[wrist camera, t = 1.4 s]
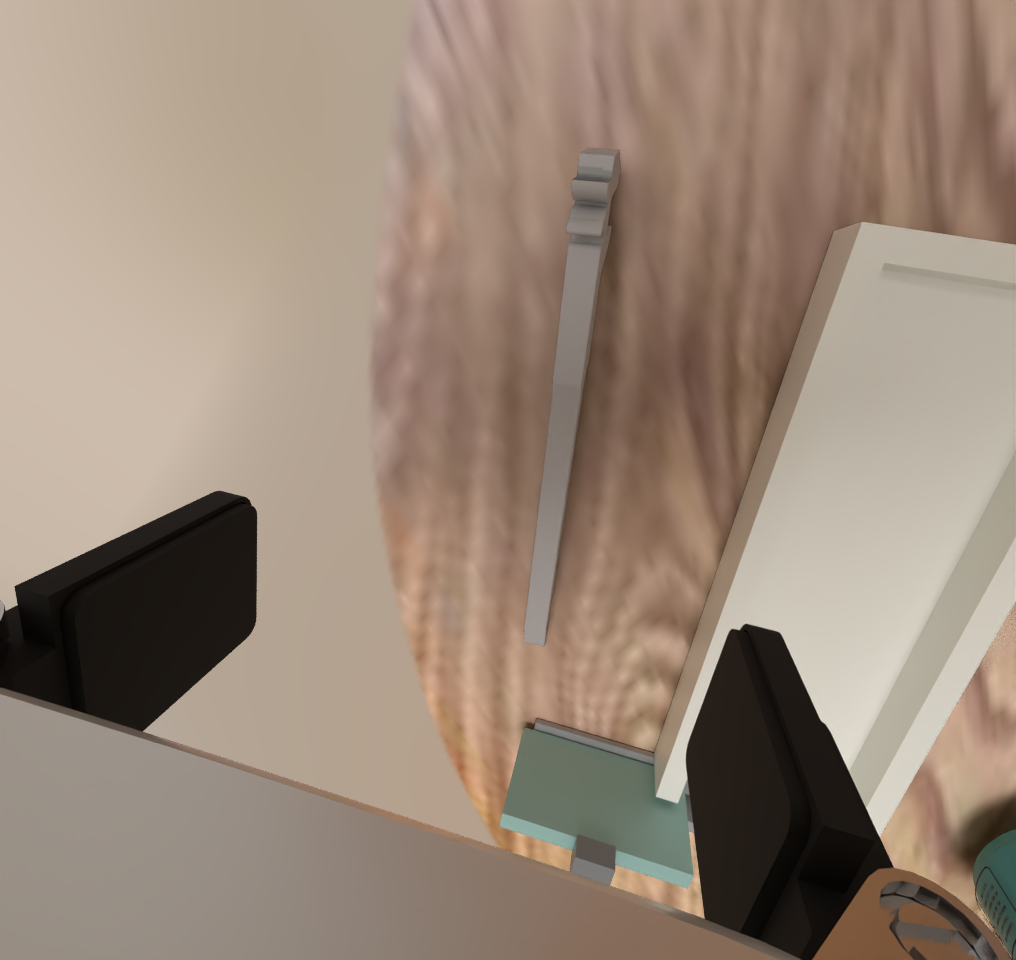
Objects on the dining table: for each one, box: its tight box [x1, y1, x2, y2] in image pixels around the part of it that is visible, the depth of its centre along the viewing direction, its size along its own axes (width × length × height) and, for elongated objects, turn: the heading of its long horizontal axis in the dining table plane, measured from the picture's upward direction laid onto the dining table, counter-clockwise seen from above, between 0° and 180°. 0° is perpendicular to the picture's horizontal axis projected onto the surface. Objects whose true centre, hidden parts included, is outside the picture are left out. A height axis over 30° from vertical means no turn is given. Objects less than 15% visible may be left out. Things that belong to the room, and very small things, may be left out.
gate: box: [500, 727, 693, 888], centre depth 25 cm, size 8×1×6 cm, turn 80°
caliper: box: [524, 148, 621, 646], centre depth 21 cm, size 20×1×6 cm, turn 173°
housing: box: [534, 222, 1016, 837], centre depth 22 cm, size 15×26×2 cm, turn 170°
